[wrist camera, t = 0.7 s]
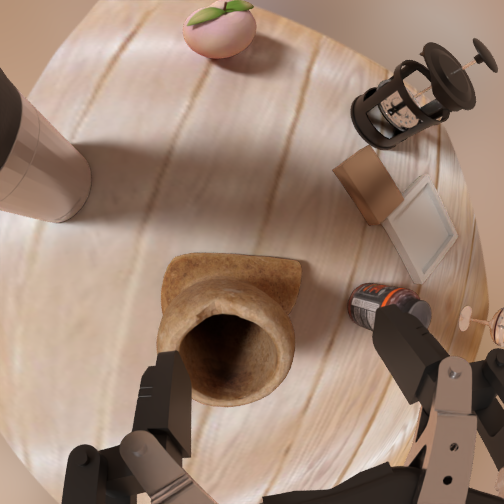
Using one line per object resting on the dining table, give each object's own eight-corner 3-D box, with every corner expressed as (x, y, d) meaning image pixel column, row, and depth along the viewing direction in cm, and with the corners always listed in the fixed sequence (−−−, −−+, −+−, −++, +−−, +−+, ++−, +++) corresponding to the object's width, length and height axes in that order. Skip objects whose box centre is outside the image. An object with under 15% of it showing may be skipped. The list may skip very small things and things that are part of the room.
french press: (351, 144, 37) (477, 70, 14) (342, 88, 37) (440, 0, 14) (410, 155, 39) (527, 111, 17) (400, 104, 39) (499, 45, 17)
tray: (377, 217, 38) (386, 215, 36) (419, 176, 40) (427, 173, 38) (414, 283, 39) (422, 284, 37) (450, 236, 41) (458, 236, 39)
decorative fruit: (211, 85, 33) (221, 37, 23) (172, 52, 32) (172, 3, 22) (261, 54, 34) (281, 9, 24) (222, 24, 33) (233, -22, 23)
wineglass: (472, 332, 43) (517, 343, 31) (454, 339, 42) (502, 353, 30) (475, 298, 43) (523, 305, 31) (457, 303, 42) (509, 311, 30)
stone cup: (159, 348, 31) (142, 413, 17) (166, 246, 32) (147, 241, 17) (284, 354, 35) (341, 410, 20) (294, 259, 35) (365, 263, 20)
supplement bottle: (379, 278, 38) (437, 284, 26) (382, 318, 38) (438, 335, 27) (343, 287, 36) (399, 299, 25) (348, 330, 36) (401, 354, 25)
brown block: (332, 170, 36) (341, 165, 34) (359, 149, 37) (369, 144, 35) (369, 225, 37) (379, 224, 35) (393, 202, 38) (404, 199, 36)
